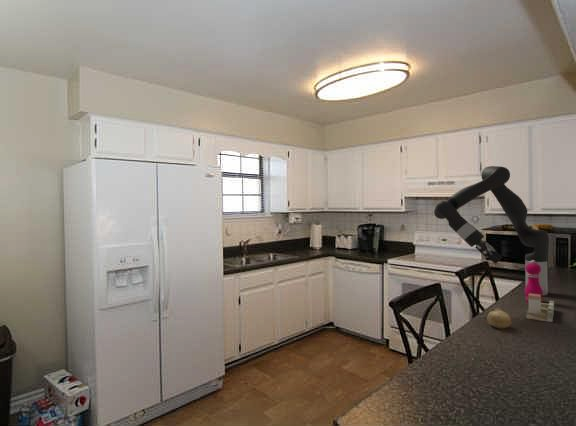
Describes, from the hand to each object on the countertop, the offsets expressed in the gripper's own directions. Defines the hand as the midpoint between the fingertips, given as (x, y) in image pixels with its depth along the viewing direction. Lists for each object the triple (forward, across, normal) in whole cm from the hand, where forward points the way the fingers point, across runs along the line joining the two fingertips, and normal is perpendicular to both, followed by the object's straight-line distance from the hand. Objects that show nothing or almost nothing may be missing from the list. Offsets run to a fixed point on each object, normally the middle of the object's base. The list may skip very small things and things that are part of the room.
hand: (499, 260), depth 151 cm
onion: (+18, -22, +14) cm, 32 cm away
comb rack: (+26, +4, +6) cm, 27 cm away
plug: (+25, 0, +7) cm, 26 cm away
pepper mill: (+24, +24, +8) cm, 35 cm away
